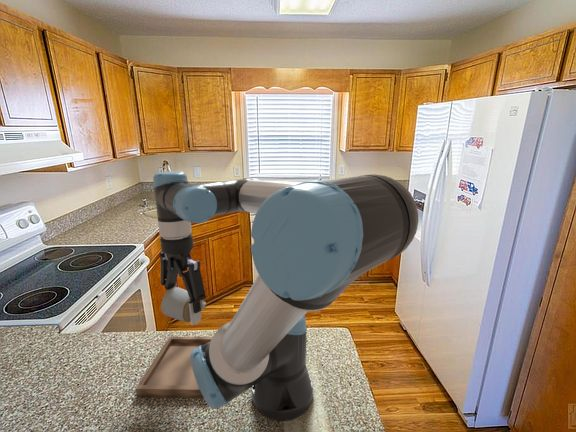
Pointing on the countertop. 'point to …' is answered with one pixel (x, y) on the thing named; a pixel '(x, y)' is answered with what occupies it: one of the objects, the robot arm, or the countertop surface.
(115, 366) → the countertop surface
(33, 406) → the countertop surface
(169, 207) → the robot arm
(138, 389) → the walnut tray
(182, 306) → the ceramic mug
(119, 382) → the countertop surface
